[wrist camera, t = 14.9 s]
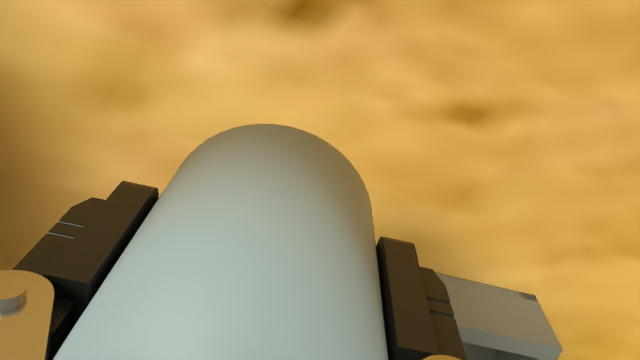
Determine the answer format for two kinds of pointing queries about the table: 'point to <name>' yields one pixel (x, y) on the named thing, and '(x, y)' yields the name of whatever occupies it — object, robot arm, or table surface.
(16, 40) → the table surface
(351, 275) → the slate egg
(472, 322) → the tote
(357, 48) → the table surface
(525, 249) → the table surface
